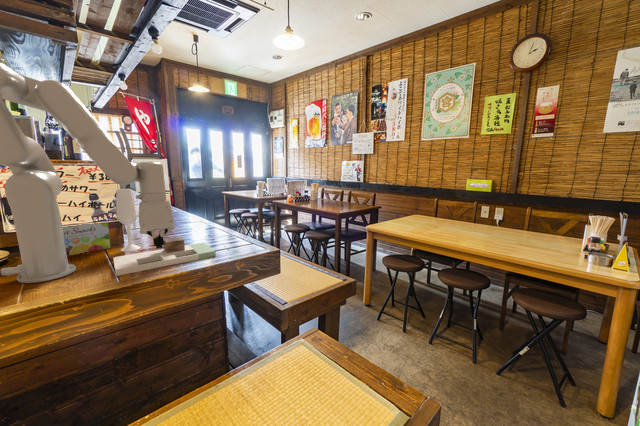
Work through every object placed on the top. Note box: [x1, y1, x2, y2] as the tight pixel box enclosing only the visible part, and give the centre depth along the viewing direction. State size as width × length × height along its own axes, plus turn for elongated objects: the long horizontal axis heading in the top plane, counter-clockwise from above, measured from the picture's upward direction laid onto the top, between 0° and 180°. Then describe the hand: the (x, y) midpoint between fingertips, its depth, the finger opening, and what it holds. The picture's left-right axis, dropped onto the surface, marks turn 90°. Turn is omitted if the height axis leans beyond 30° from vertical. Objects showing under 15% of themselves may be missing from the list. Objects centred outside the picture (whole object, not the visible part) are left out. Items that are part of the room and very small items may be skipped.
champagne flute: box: [115, 188, 142, 252], centre depth 105 cm, size 7×7×24 cm
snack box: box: [62, 223, 111, 257], centre depth 100 cm, size 21×6×15 cm, turn 143°
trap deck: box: [112, 242, 217, 277], centre depth 96 cm, size 30×14×2 cm, turn 129°
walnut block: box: [163, 236, 185, 253], centre depth 100 cm, size 6×5×4 cm
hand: (159, 247), depth 97 cm, fingers closed
